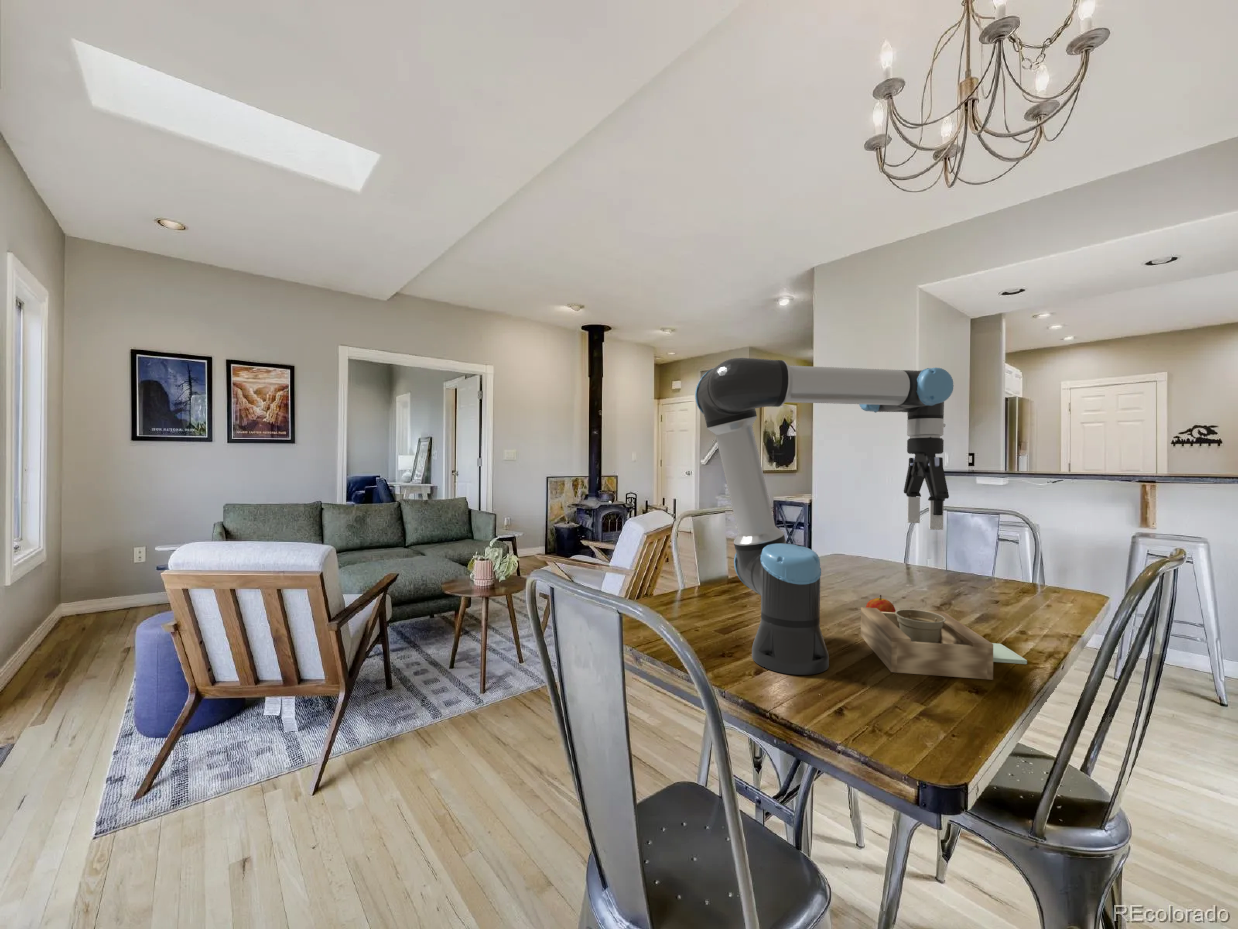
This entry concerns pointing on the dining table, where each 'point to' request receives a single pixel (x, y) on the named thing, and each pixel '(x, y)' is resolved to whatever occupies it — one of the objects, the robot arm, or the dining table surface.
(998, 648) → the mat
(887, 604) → the fruit
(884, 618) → the crate
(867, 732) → the dining table surface
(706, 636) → the dining table surface
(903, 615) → the flower pot
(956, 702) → the dining table surface
